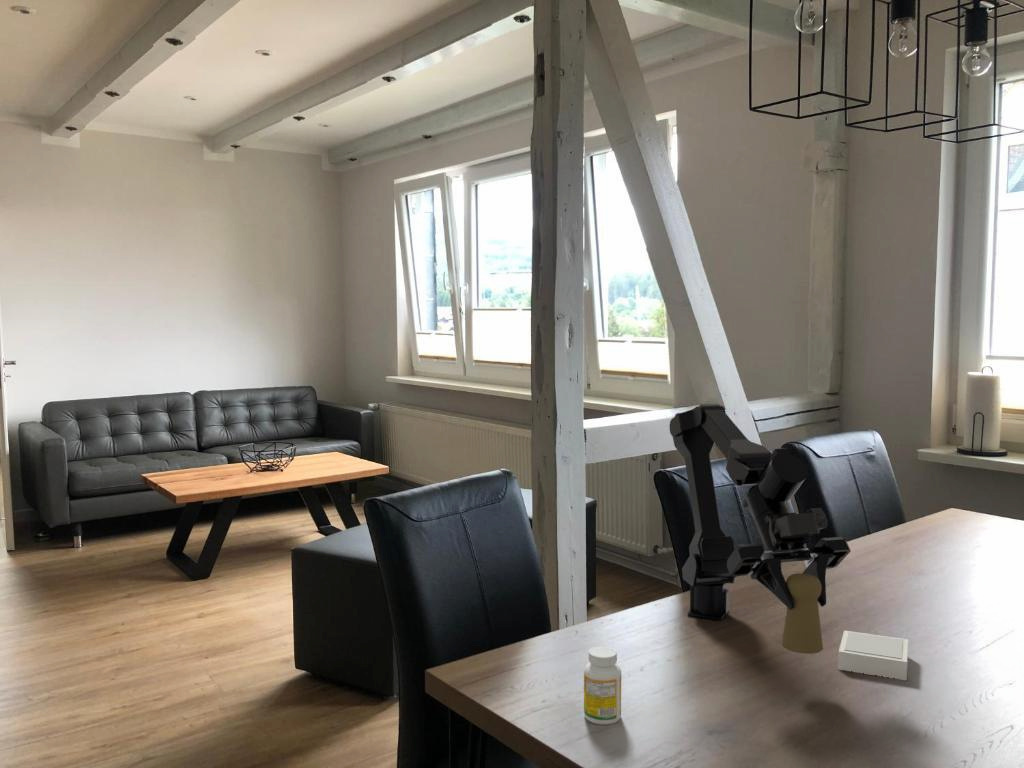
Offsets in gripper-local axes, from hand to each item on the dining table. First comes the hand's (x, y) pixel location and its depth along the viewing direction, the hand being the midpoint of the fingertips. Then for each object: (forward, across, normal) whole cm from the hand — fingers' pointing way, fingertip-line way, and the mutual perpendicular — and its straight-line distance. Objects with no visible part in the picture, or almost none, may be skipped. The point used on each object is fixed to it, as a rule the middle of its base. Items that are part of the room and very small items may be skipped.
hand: (808, 606), depth 128 cm
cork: (+4, 0, +6) cm, 7 cm away
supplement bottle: (+10, -33, +9) cm, 35 cm away
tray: (+5, +16, +14) cm, 22 cm away
